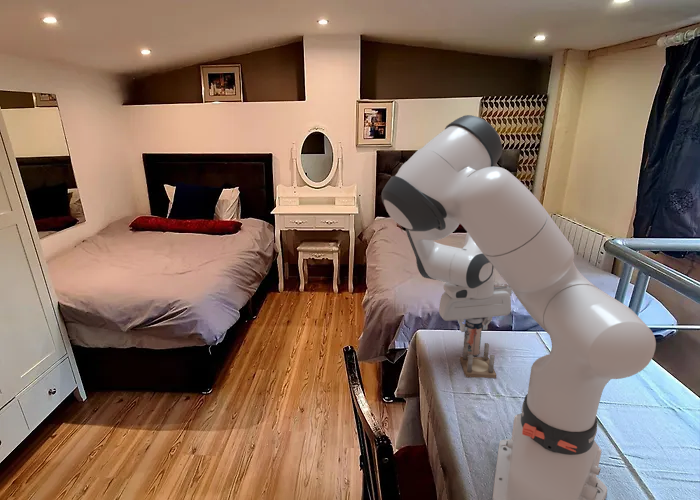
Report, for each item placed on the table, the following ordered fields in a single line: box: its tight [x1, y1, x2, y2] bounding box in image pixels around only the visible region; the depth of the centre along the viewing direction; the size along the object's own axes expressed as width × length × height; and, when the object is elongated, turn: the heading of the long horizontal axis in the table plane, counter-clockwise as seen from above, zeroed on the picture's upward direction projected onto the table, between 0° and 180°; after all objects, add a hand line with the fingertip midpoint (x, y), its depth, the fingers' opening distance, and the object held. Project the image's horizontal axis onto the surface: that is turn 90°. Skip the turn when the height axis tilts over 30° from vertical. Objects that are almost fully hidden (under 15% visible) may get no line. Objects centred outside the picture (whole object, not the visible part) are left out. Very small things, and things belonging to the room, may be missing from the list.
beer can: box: [462, 318, 484, 357], centre depth 109 cm, size 5×5×12 cm
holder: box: [459, 342, 498, 379], centre depth 102 cm, size 8×8×6 cm
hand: (473, 330), depth 108 cm, fingers closed on beer can, 5 cm apart
